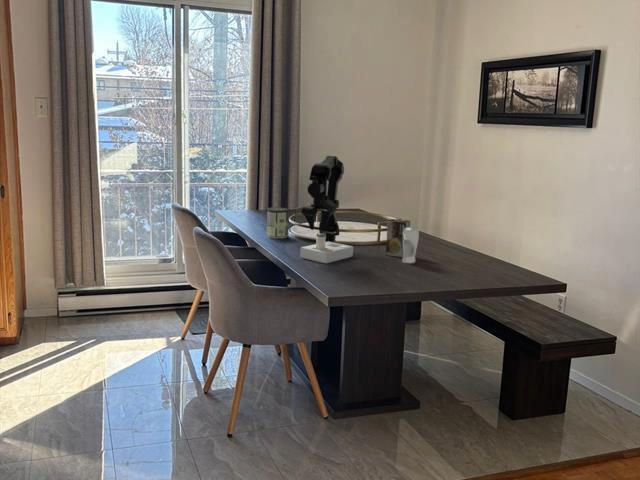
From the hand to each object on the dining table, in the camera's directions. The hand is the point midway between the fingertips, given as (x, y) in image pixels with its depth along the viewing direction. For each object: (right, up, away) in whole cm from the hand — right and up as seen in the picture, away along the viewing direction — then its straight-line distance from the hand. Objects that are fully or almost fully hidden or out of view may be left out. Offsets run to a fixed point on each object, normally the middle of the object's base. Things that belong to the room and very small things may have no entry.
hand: (318, 228), depth 290 cm
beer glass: (+40, -15, -1) cm, 42 cm away
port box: (+4, -13, +1) cm, 13 cm away
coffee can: (-21, -4, +40) cm, 45 cm away
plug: (+1, -12, -3) cm, 13 cm away
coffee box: (+36, -12, +12) cm, 40 cm away
